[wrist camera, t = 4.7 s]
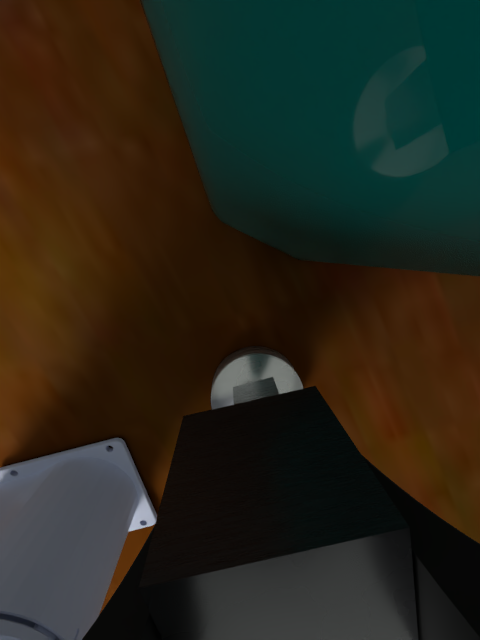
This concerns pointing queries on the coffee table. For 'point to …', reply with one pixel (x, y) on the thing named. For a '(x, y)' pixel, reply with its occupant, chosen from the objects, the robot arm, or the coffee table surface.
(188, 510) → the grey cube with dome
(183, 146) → the coffee table surface
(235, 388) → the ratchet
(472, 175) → the teal green bottle
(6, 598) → the robot arm
